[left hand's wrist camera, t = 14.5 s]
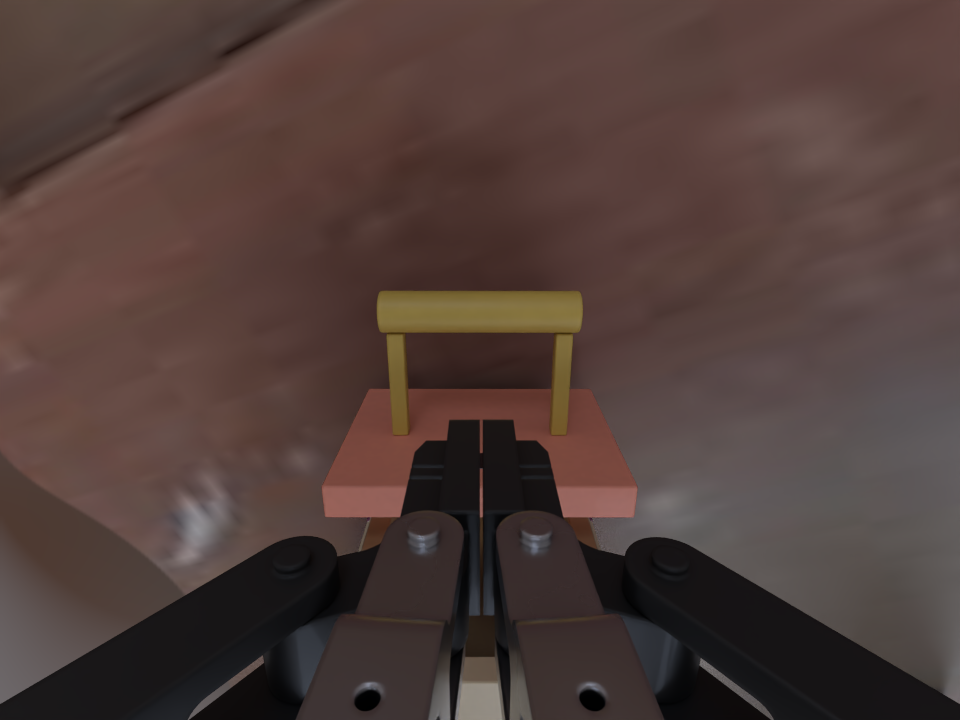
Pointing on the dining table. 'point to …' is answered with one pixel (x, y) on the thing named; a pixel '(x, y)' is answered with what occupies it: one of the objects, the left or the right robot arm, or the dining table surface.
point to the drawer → (426, 413)
